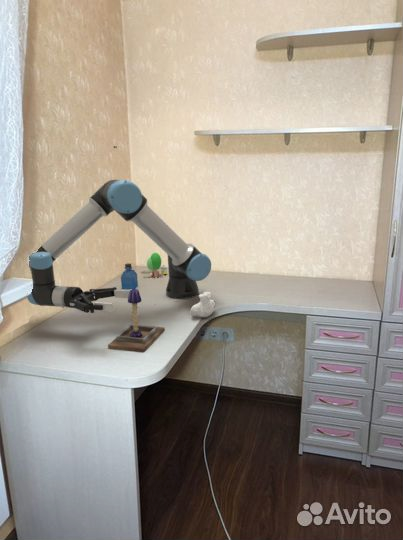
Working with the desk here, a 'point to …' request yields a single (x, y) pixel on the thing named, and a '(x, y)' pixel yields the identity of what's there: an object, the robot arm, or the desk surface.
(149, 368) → the desk surface
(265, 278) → the desk surface
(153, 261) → the green toy tree
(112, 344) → the plate
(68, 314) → the desk surface
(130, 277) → the perfume bottle
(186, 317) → the desk surface
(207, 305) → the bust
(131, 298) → the toy lamp
